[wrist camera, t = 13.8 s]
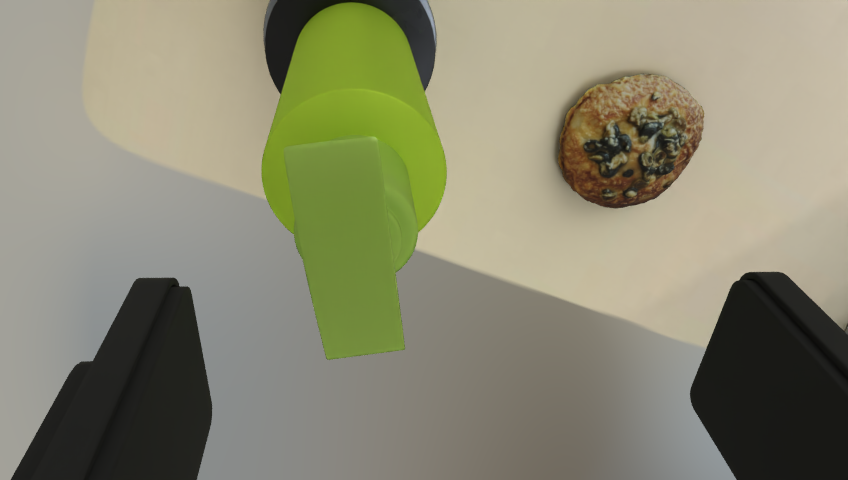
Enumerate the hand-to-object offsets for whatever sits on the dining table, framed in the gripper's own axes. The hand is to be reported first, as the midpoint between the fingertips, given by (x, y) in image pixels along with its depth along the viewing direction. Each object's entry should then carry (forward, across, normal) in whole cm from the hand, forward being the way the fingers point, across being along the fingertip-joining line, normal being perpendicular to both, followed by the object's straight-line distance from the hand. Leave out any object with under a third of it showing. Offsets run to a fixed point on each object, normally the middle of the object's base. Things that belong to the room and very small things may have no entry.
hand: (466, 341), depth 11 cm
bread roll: (+35, -19, +10) cm, 41 cm away
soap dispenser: (+23, +2, +1) cm, 23 cm away
